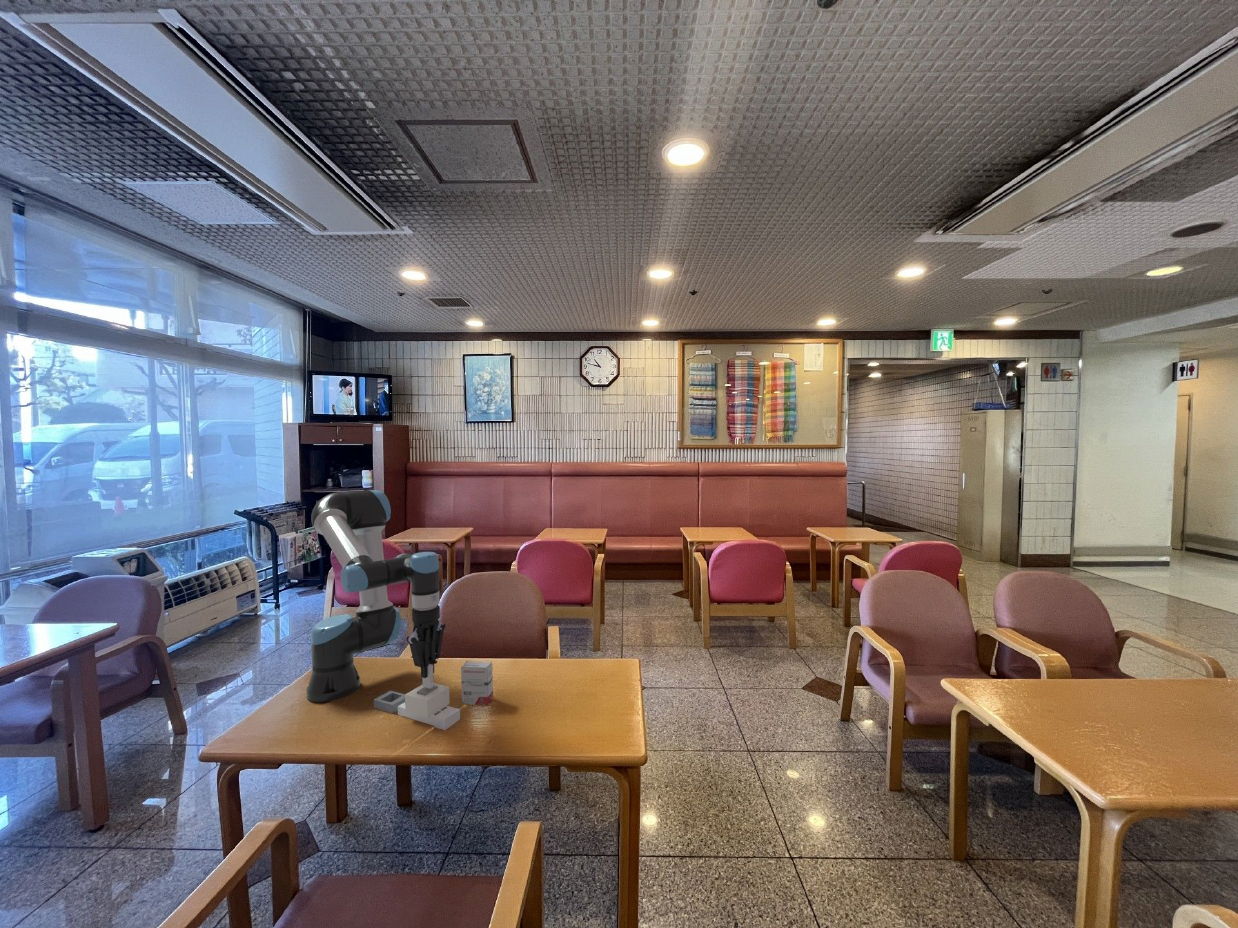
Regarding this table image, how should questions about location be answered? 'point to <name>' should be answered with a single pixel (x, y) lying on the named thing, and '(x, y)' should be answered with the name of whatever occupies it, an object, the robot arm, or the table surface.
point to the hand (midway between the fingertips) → (428, 686)
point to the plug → (427, 700)
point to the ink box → (477, 683)
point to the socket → (435, 716)
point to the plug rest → (389, 701)
